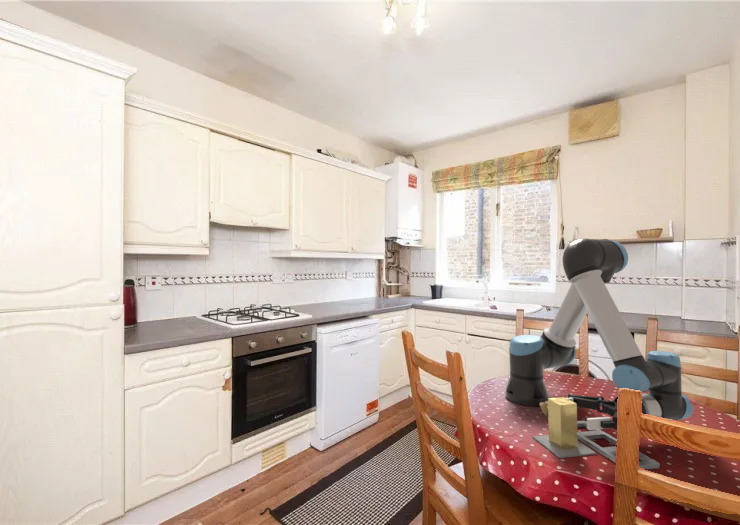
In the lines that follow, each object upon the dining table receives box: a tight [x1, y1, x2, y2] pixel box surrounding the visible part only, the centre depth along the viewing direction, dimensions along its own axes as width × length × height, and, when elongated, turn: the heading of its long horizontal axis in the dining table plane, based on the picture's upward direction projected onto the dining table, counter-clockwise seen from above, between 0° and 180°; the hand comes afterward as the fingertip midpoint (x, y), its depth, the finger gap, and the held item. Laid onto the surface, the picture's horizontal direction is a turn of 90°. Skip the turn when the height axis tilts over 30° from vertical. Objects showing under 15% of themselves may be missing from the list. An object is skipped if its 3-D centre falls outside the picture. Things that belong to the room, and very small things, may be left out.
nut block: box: [547, 396, 579, 450], centre depth 95 cm, size 5×5×12 cm
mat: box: [532, 434, 597, 459], centre depth 95 cm, size 11×11×1 cm
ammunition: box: [539, 401, 548, 417], centre depth 112 cm, size 5×7×8 cm
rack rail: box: [577, 420, 660, 470], centre depth 95 cm, size 24×9×1 cm, turn 9°
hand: (568, 413), depth 95 cm, fingers open, 13 cm apart
